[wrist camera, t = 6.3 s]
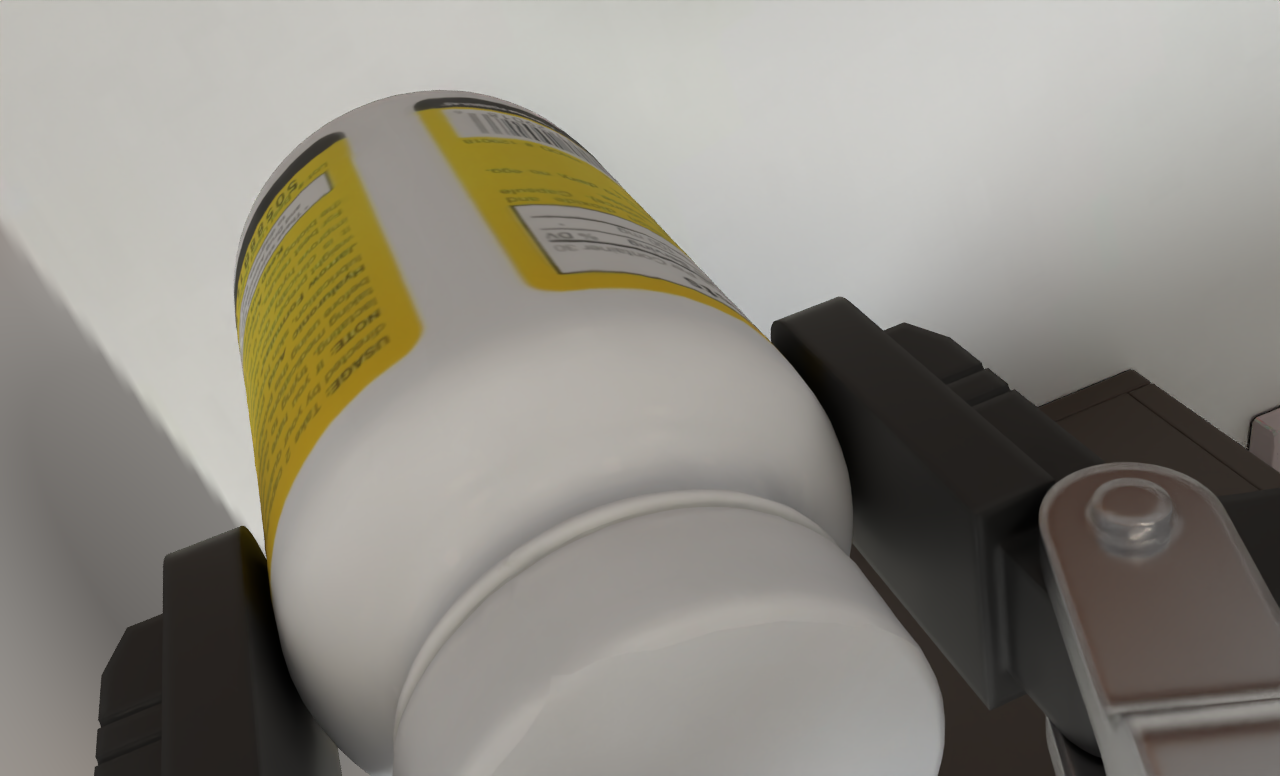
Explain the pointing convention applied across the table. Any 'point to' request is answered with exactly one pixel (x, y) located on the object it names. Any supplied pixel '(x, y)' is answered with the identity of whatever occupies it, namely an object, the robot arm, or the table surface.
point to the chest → (1116, 432)
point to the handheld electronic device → (1267, 438)
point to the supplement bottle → (546, 476)
